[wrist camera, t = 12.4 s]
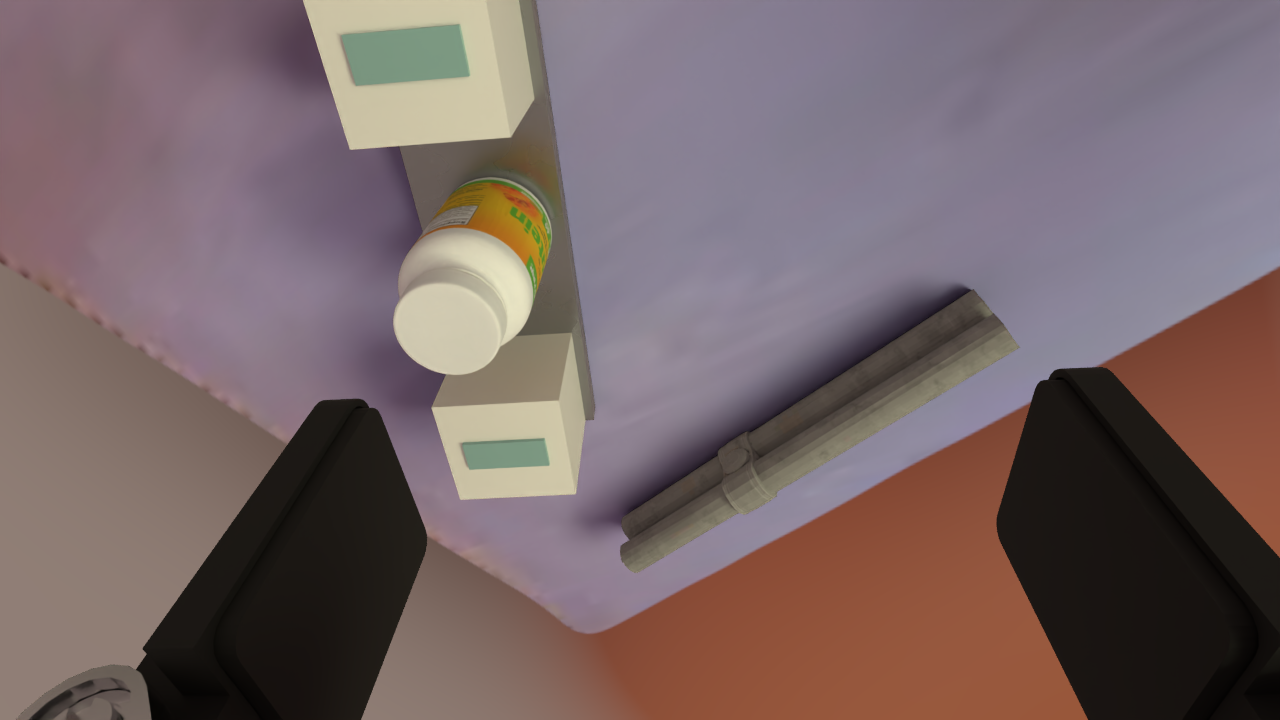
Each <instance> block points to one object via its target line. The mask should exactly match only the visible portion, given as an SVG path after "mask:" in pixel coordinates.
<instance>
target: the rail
mask: <svg viewBox="0 0 1280 720" xmlns="http://www.w3.org/2000/svg"><path fill="white" fill-rule="evenodd" d="M519 4H520V11H521V17H522V23H523V30H524V36H525V42H526V49H527V55H528V61H529V67H530V74H531V80H532V86H533V93H534V100H533V102H532V104H531V105H530V107H529V109H528V110H527V112H526V113H525V115H524V117H523V118H522V120H521V122H520V123H519V125H518V126H517V128H516V130H515V131H514V133H513V135H512V136H511V137H509V138H496V139H483V140H470V141H457V142H444V143H431V144H419V145H406V146H399V148H400V151H401V155H402V159H403V162H404V166H405V170H406V173H407V177H408V180H409V184H410V188H411V191H412V195H413V199H414V202H415V206H416V210H417V213H418V217H419V220H420V224H421V228H422V231H424V230H425V229H426V227H427V226H428V224H429V223H430V222H431V220H432V219H433V217H434V216H435V215H436V213H437V212H438V211H439V209H440V208H441V207H442V205H443V204H444V202H445V201H446V200H447V199H448V197H449V196H450V195H451V194H452V193H453V192H454V191H455V190H456V189H457V188H458V187H460V186H461V185H463V184H465V183H467V182H469V181H472V180H475V179H479V178H486V177H496V178H503V179H507V180H510V181H513V182H515V183H517V184H519V185H521V186H523V187H524V188H526V189H527V190H529V191H530V192H531V193H532V194H533V195H534V196H535V197H536V198H537V199H538V200H539V201H540V203H541V204H542V205H543V207H544V209H545V211H546V213H547V215H548V217H549V220H550V224H551V230H552V242H551V248H550V252H549V255H548V258H547V261H546V264H545V267H544V270H543V273H542V277H541V280H540V283H539V286H538V289H537V292H536V295H535V299H534V302H533V306H532V309H531V312H530V314H529V317H528V319H527V321H526V323H525V325H524V326H523V328H522V329H521V331H520V332H519V333H518V334H517V335H516V336H526V335H542V334H559V333H572V339H573V345H574V352H575V358H576V364H577V371H578V377H579V383H580V390H581V396H582V402H583V408H584V415H585V420H594V414H595V402H594V395H593V388H592V381H591V375H590V368H589V361H588V354H587V347H586V340H585V333H584V327H583V320H582V313H581V306H580V299H579V292H578V286H577V279H576V272H575V265H574V258H573V251H572V244H571V238H570V231H569V224H568V217H567V210H566V203H565V196H564V190H563V183H562V176H561V169H560V162H559V155H558V149H557V142H556V135H555V128H554V121H553V114H552V107H551V101H550V94H549V87H548V80H547V73H546V66H545V59H544V53H543V46H542V39H541V32H540V25H539V18H538V12H537V5H536V0H519Z"/></svg>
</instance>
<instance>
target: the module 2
mask: <svg viewBox="0 0 1280 720" xmlns="http://www.w3.org/2000/svg"><path fill="white" fill-rule="evenodd" d="M431 408H432V411H433V414H434V417H435V421H436V424H437V427H438V430H439V433H440V436H441V440H442V443H443V446H444V449H445V452H446V455H447V459H448V462H449V465H450V468H451V471H452V474H453V478H454V481H455V484H456V487H457V490H458V493H459V497H460V500H464V499H485V498H506V497H527V496H547V495H568V494H576V489H577V482H578V474H579V466H580V458H581V450H582V443H583V435H584V427H585V415H584V408H583V402H582V396H581V390H580V383H579V377H578V371H577V364H576V358H575V352H574V345H573V339H572V333H559V334H542V335H526V336H515V337H514V338H513V339H511V340H510V341H509V342H507V343H506V344H504V345H502V346H500V348H499V350H498V352H497V354H496V356H495V357H494V358H493V359H492V361H491V362H490V363H488V364H487V365H486V366H485V367H483V368H481V369H479V370H477V371H475V372H472V373H468V374H462V375H450V374H446V376H445V378H444V380H443V382H442V385H441V387H440V389H439V391H438V394H437V396H436V398H435V401H434V403H433V405H432V407H431Z"/></svg>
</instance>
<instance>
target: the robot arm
mask: <svg viewBox="0 0 1280 720" xmlns="http://www.w3.org/2000/svg"><path fill="white" fill-rule="evenodd" d="M997 532H998V536H999V539H1000V542H1001V544H1002V546H1003V548H1004V550H1005V552H1006V554H1007V556H1008V558H1009V560H1010V563H1011V565H1012V567H1013V569H1014V571H1015V573H1016V574H1017V577H1018V578H1019V581H1020V583H1021V585H1022V587H1023V589H1024V591H1025V593H1026V595H1027V597H1028V599H1029V601H1030V603H1031V605H1032V607H1033V609H1034V611H1035V613H1036V615H1037V617H1038V619H1039V621H1040V623H1041V625H1042V627H1043V629H1044V631H1045V633H1046V635H1047V637H1048V639H1049V641H1050V643H1051V645H1052V647H1053V650H1054V651H1055V654H1056V656H1057V658H1058V660H1059V662H1060V664H1061V666H1062V668H1063V670H1064V672H1065V674H1066V676H1067V678H1068V680H1069V682H1070V684H1071V686H1072V688H1073V690H1074V692H1075V694H1076V696H1077V698H1078V700H1079V702H1080V704H1081V706H1082V708H1083V710H1084V712H1085V714H1086V716H1087V718H1088V720H1280V558H1279V556H1277V554H1276V553H1275V552H1274V551H1273V550H1272V549H1271V548H1270V547H1269V545H1267V543H1266V542H1265V541H1264V540H1263V539H1262V538H1261V537H1260V535H1259V534H1258V533H1257V532H1256V531H1255V530H1254V529H1253V528H1252V527H1251V525H1250V524H1249V523H1248V522H1247V521H1246V520H1245V519H1244V518H1243V517H1242V515H1241V514H1240V513H1239V512H1238V511H1237V510H1236V509H1235V508H1234V507H1233V506H1232V504H1231V503H1230V502H1229V501H1228V500H1227V499H1226V498H1225V497H1224V496H1223V494H1222V493H1221V492H1220V491H1219V490H1218V489H1217V488H1216V487H1215V486H1214V485H1213V484H1212V482H1211V481H1210V480H1209V479H1208V478H1207V477H1206V476H1205V475H1204V473H1203V472H1202V471H1201V470H1200V469H1199V468H1198V467H1197V466H1196V465H1195V463H1194V462H1193V461H1192V460H1191V459H1190V458H1189V457H1188V456H1187V455H1186V453H1185V452H1184V451H1183V450H1182V449H1181V448H1180V447H1179V446H1178V445H1177V444H1176V442H1175V441H1174V440H1173V439H1172V438H1171V437H1170V436H1169V435H1168V434H1167V433H1166V431H1165V430H1164V429H1163V428H1162V427H1161V426H1160V425H1159V424H1158V423H1157V421H1156V420H1155V419H1154V418H1153V417H1152V416H1151V415H1150V414H1149V413H1148V411H1147V410H1146V409H1145V408H1144V407H1143V406H1142V405H1141V404H1140V403H1139V401H1138V400H1137V399H1136V398H1135V397H1134V396H1133V395H1132V394H1131V393H1130V391H1129V390H1128V389H1127V388H1126V387H1125V386H1124V385H1123V384H1122V383H1121V382H1120V381H1119V379H1118V378H1117V377H1116V376H1115V375H1114V374H1113V373H1112V372H1111V371H1110V370H1108V369H1107V368H1103V367H1092V368H1068V369H1058V370H1055V371H1054V372H1053V373H1052V374H1051V375H1050V377H1049V379H1048V380H1043V381H1040V382H1039V383H1038V384H1037V386H1036V389H1035V392H1034V395H1033V398H1032V402H1031V405H1030V408H1029V412H1028V415H1027V418H1026V422H1025V425H1024V428H1023V432H1022V435H1021V438H1020V442H1019V445H1018V448H1017V451H1016V455H1015V459H1014V461H1013V465H1012V468H1011V471H1010V475H1009V478H1008V481H1007V485H1006V488H1005V491H1004V495H1003V498H1002V502H1001V505H1000V508H999V511H998V515H997ZM426 546H427V534H426V530H425V527H424V524H423V522H422V519H421V517H420V514H419V511H418V509H417V506H416V504H415V501H414V499H413V496H412V494H411V491H410V488H409V486H408V483H407V481H406V478H405V476H404V473H403V471H402V468H401V466H400V463H399V460H398V458H397V455H396V453H395V450H394V448H393V445H392V443H391V440H390V438H389V435H388V432H387V430H386V427H385V425H384V422H383V420H382V417H381V415H380V413H379V411H378V410H377V409H375V408H369V406H368V404H367V403H366V402H365V401H364V400H362V399H340V400H323V401H321V402H319V403H318V404H317V405H316V406H315V407H314V408H313V410H312V411H311V413H310V414H309V415H308V417H307V418H306V420H305V421H304V422H303V424H302V425H301V427H300V428H299V429H298V431H297V432H296V434H295V435H294V436H293V438H292V439H291V441H290V442H289V443H288V445H287V446H286V448H285V449H284V450H283V452H282V453H281V455H280V456H279V457H278V459H277V460H276V462H275V463H274V465H273V466H272V467H271V469H270V470H269V472H268V473H267V474H266V476H265V477H264V479H263V480H262V482H261V483H260V484H259V486H258V487H257V489H256V490H255V491H254V493H253V494H252V495H251V497H250V498H249V500H248V501H247V503H246V504H245V505H244V507H243V508H242V510H241V511H240V512H239V514H238V515H237V517H236V518H235V519H234V521H233V522H232V524H231V525H230V526H229V528H228V530H227V531H226V532H225V533H224V535H223V536H222V538H221V539H220V540H219V542H218V543H217V545H216V546H215V548H214V549H213V550H212V552H211V553H210V555H209V556H208V557H207V559H206V560H205V561H204V563H203V564H202V566H201V567H200V569H199V570H198V571H197V573H196V574H195V576H194V577H193V579H192V580H191V581H190V583H189V584H188V585H187V587H186V588H185V590H184V591H183V592H182V594H181V595H180V597H179V598H178V600H177V601H176V602H175V604H174V605H173V606H172V608H171V609H170V611H169V612H168V613H167V615H166V616H165V618H164V619H163V621H162V622H161V623H160V625H159V626H158V628H157V629H156V630H155V632H154V633H153V635H152V636H151V637H150V639H149V640H148V642H147V643H146V644H145V646H144V647H143V650H144V651H145V652H146V653H147V655H146V656H145V658H144V659H143V660H142V662H141V663H140V665H139V666H138V667H137V669H136V670H135V669H133V668H132V667H130V666H123V665H108V666H103V667H98V668H93V669H90V670H88V671H85V672H83V673H81V674H78V675H76V676H73V677H71V678H69V679H67V680H65V681H64V682H62V683H61V684H59V685H57V686H56V687H54V688H52V689H51V690H50V691H48V692H46V693H44V694H43V695H42V696H41V697H40V698H39V699H38V700H36V701H35V702H34V703H33V704H31V705H30V706H29V707H28V708H27V709H25V710H24V711H23V712H22V713H21V714H20V715H19V717H18V718H17V719H16V720H361V718H362V716H363V713H364V710H365V708H366V705H367V703H368V700H369V697H370V695H371V692H372V690H373V687H374V684H375V682H376V679H377V677H378V674H379V671H380V669H381V666H382V664H383V661H384V658H385V656H386V653H387V651H388V648H389V646H390V643H391V640H392V638H393V635H394V633H395V630H396V627H397V625H398V622H399V620H400V617H401V615H402V612H403V609H404V607H405V604H406V602H407V599H408V596H409V594H410V591H411V589H412V586H413V583H414V581H415V578H416V576H417V573H418V571H419V568H420V565H421V563H422V560H423V557H424V555H425V552H426Z"/></svg>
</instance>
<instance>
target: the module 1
mask: <svg viewBox="0 0 1280 720" xmlns="http://www.w3.org/2000/svg"><path fill="white" fill-rule="evenodd" d="M303 2H304V5H305V8H306V11H307V15H308V18H309V21H310V24H311V27H312V31H313V34H314V37H315V40H316V43H317V46H318V50H319V53H320V56H321V59H322V62H323V65H324V69H325V72H326V75H327V78H328V81H329V84H330V88H331V91H332V94H333V97H334V100H335V103H336V107H337V110H338V113H339V116H340V119H341V122H342V126H343V129H344V132H345V135H346V138H347V141H348V145H349V148H350V150H354V149H367V148H380V147H393V146H406V145H419V144H431V143H444V142H457V141H470V140H483V139H496V138H509V137H511V136H512V135H513V133H514V131H515V130H516V128H517V126H518V125H519V123H520V122H521V120H522V118H523V117H524V115H525V113H526V112H527V110H528V109H529V107H530V105H531V104H532V102H533V100H534V93H533V86H532V80H531V74H530V67H529V61H528V55H527V49H526V42H525V36H524V30H523V23H522V17H521V11H520V4H519V0H303Z"/></svg>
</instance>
